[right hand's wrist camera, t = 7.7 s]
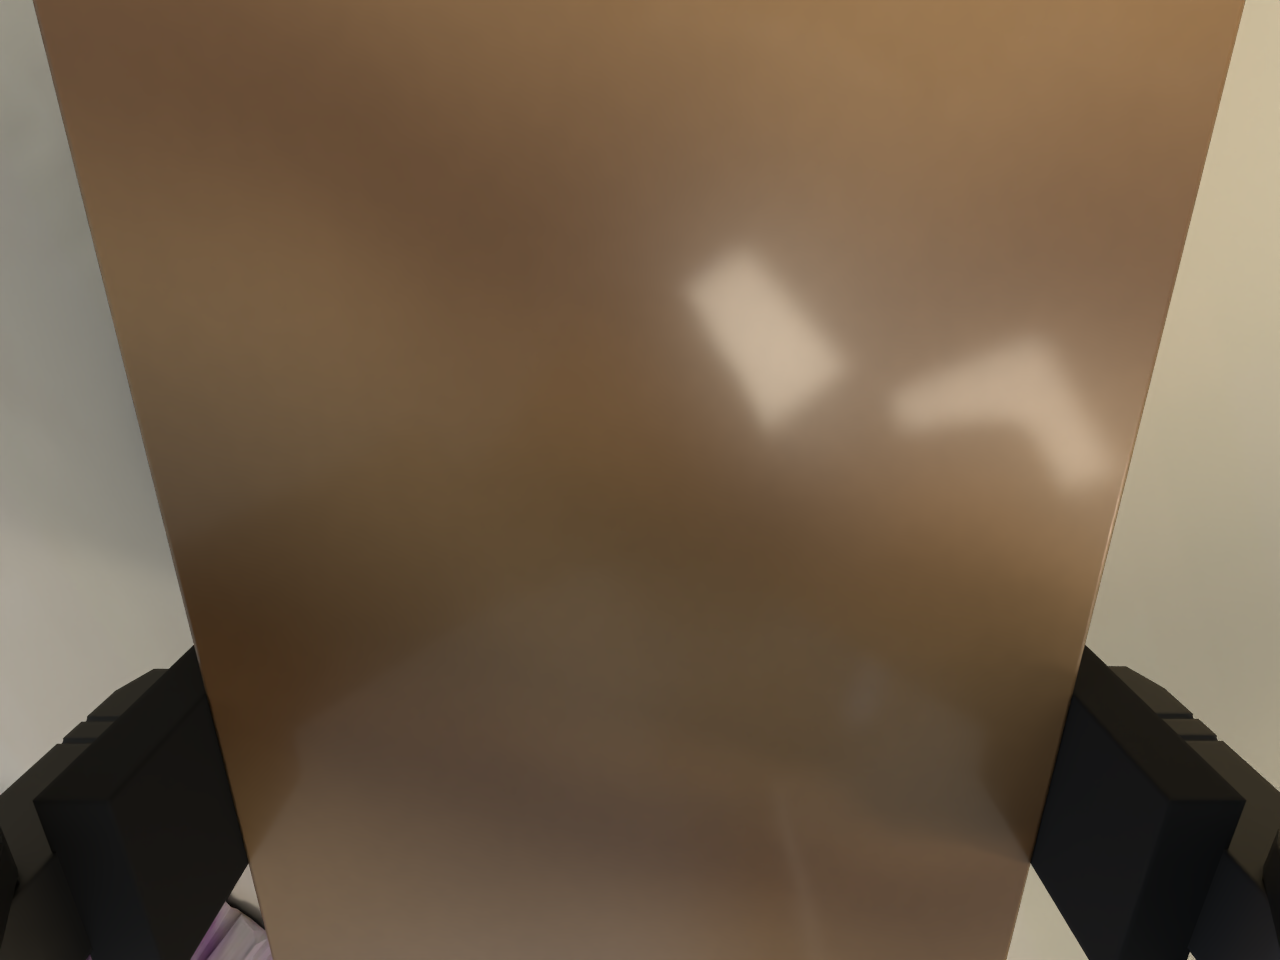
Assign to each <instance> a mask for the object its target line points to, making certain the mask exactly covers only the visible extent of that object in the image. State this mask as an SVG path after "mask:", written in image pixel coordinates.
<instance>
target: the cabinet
mask: <svg viewBox="0 0 1280 960" xmlns="http://www.w3.org/2000/svg"><path fill="white" fill-rule="evenodd" d="M33 3H34V7H35V11H36V15H37V19H38V23H39V27H40V31H41V35H42V39H43V43H44V47H45V51H46V55H47V59H48V63H49V67H50V71H51V75H52V79H53V83H54V87H55V91H56V95H57V99H58V103H59V107H60V111H61V115H62V119H63V123H64V127H65V131H66V135H67V139H68V143H69V147H70V151H71V155H72V159H73V163H74V167H75V171H76V175H77V179H78V183H79V187H80V191H81V195H82V199H83V203H84V207H85V211H86V215H87V219H88V223H89V227H90V231H91V235H92V239H93V243H94V247H95V251H96V255H97V259H98V263H99V267H100V271H101V275H102V279H103V283H104V287H105V291H106V295H107V299H108V303H109V307H110V311H111V315H112V319H113V323H114V327H115V331H116V335H117V339H118V343H119V347H120V351H121V355H122V359H123V363H124V367H125V371H126V375H127V379H128V383H129V387H130V391H131V395H132V399H133V403H134V407H135V411H136V415H137V419H138V423H139V427H140V431H141V435H142V439H143V443H144V447H145V451H146V455H147V459H148V463H149V467H150V471H151V475H152V479H153V483H154V487H155V491H156V495H157V499H158V503H159V507H160V511H161V515H162V519H163V523H164V527H165V531H166V535H167V539H168V543H169V547H170V551H171V555H172V559H173V563H174V567H175V571H176V575H177V579H178V583H179V587H180V591H181V595H182V599H183V603H184V607H185V611H186V615H187V619H188V623H189V627H190V631H191V635H192V639H193V643H194V647H195V651H196V655H197V659H198V663H199V667H200V671H201V675H202V679H203V683H204V687H205V691H206V695H207V699H208V703H209V707H210V711H211V715H212V719H213V723H214V727H215V731H216V735H217V739H218V743H219V747H220V751H221V755H222V759H223V763H224V767H225V771H226V775H227V779H228V783H229V787H230V791H231V795H232V799H233V803H234V807H235V811H236V814H237V818H238V822H239V826H240V830H241V834H242V838H243V842H244V846H245V850H246V854H247V858H248V862H249V866H250V870H251V874H252V878H253V882H254V886H255V890H256V894H257V898H258V902H259V906H260V910H261V914H262V918H263V922H264V926H265V930H266V934H267V938H268V942H269V946H270V950H271V954H272V958H273V960H1006V959H1007V955H1008V951H1009V947H1010V943H1011V939H1012V935H1013V931H1014V927H1015V923H1016V919H1017V915H1018V911H1019V907H1020V903H1021V899H1022V895H1023V891H1024V887H1025V883H1026V879H1027V875H1028V871H1029V867H1030V863H1031V859H1032V855H1033V851H1034V846H1035V842H1036V838H1037V834H1038V830H1039V826H1040V822H1041V818H1042V814H1043V810H1044V806H1045V802H1046V798H1047V794H1048V790H1049V786H1050V782H1051V778H1052V774H1053V770H1054V766H1055V762H1056V758H1057V754H1058V750H1059V746H1060V742H1061V738H1062V734H1063V730H1064V726H1065V722H1066V718H1067V714H1068V710H1069V706H1070V702H1071V698H1072V694H1073V690H1074V686H1075V682H1076V678H1077V674H1078V670H1079V666H1080V662H1081V658H1082V654H1083V650H1084V646H1085V642H1086V638H1087V634H1088V630H1089V626H1090V622H1091V618H1092V614H1093V610H1094V606H1095V602H1096V598H1097V594H1098V590H1099V586H1100V582H1101V578H1102V574H1103V570H1104V566H1105V562H1106V558H1107V554H1108V550H1109V546H1110V542H1111V538H1112V534H1113V530H1114V526H1115V522H1116V518H1117V513H1118V509H1119V505H1120V501H1121V497H1122V493H1123V489H1124V485H1125V481H1126V477H1127V473H1128V469H1129V465H1130V461H1131V457H1132V453H1133V449H1134V445H1135V441H1136V437H1137V433H1138V429H1139V425H1140V421H1141V417H1142V413H1143V409H1144V405H1145V401H1146V397H1147V393H1148V389H1149V385H1150V381H1151V377H1152V373H1153V369H1154V365H1155V361H1156V357H1157V353H1158V349H1159V345H1160V341H1161V337H1162V333H1163V329H1164V325H1165V321H1166V317H1167V313H1168V309H1169V305H1170V301H1171V297H1172V293H1173V289H1174V285H1175V281H1176V277H1177V273H1178V269H1179V265H1180V261H1181V257H1182V253H1183V249H1184V245H1185V241H1186V237H1187V233H1188V229H1189V225H1190V221H1191V217H1192V213H1193V209H1194V205H1195V201H1196V197H1197V193H1198V189H1199V184H1200V180H1201V176H1202V172H1203V168H1204V164H1205V160H1206V156H1207V152H1208V148H1209V144H1210V140H1211V136H1212V132H1213V128H1214V124H1215V120H1216V116H1217V112H1218V108H1219V104H1220V100H1221V96H1222V92H1223V88H1224V84H1225V80H1226V76H1227V72H1228V68H1229V64H1230V60H1231V56H1232V52H1233V48H1234V44H1235V40H1236V36H1237V32H1238V28H1239V24H1240V20H1241V16H1242V12H1243V8H1244V4H1245V0H33Z"/></svg>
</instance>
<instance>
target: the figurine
mask: <svg viewBox="0 0 1280 960" xmlns="http://www.w3.org/2000/svg"><path fill="white" fill-rule="evenodd" d="M86 960H92V958H91V955H89V956H88V958H87V959H86ZM190 960H273V958H272V954H271V950H270V946H269V942H268V938H267V934H266V931H265V930H264V929H263V928H261V927H260V926H259V925H258V924H257V923H255V922H254V921H253V920H252V919H251V918H249V917H248V916H246V915H245V914H243V913H242V912H240V911H239V910H238V909H235V908H231V907H230V906H229V905H228V903H226V902H225V903H224V905H223V906H222V908H221V910H220V911H219V913H218V915H217V916H216V918H215V920H214V921H213V923H212V925H211V926H210V928H209V930H208V931H207V933H206V935H205V936H204V938H203V940H202V941H201V943H200V944H199V946H198V948H197V949H196V951H195V953H194V954H193V956H192V958H191V959H190Z"/></svg>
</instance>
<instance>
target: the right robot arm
mask: <svg viewBox="0 0 1280 960" xmlns="http://www.w3.org/2000/svg"><path fill="white" fill-rule="evenodd" d="M1216 737H1217V735H1216V734H1214V733H1213V732H1212V731H1211V730H1210V729H1209V728H1208V727H1207V726H1206V725H1204V724H1203V723H1202V722H1201V721H1200V720H1199V719H1194V718H1193V714H1192V713H1191V712H1190V711H1189V710H1188V709H1187V708H1186V707H1185V706H1183V705H1182V704H1181V703H1180V702H1179V701H1178V700H1177V699H1176V698H1175V697H1173V696H1172V695H1171V694H1170V693H1169V692H1168V691H1167V690H1166V689H1165V688H1163V687H1161V686H1159V685H1158V684H1156V683H1154V682H1152V681H1151V680H1149V679H1147V678H1145V677H1144V676H1142V675H1140V674H1138V673H1137V672H1135V671H1133V670H1131V669H1130V668H1128V667H1126V666H1107V665H1106V664H1105V663H1104V662H1103V661H1101V660H1100V659H1099V658H1098V657H1097V656H1096V655H1095V654H1094V653H1093V652H1092V651H1091V650H1090V649H1089V648H1088V647H1087V646H1086V645H1085V646H1084V650H1083V654H1082V658H1081V662H1080V666H1079V670H1078V674H1077V678H1076V682H1075V686H1074V690H1073V694H1072V698H1071V702H1070V706H1069V710H1068V714H1067V718H1066V722H1065V726H1064V730H1063V734H1062V738H1061V742H1060V746H1059V750H1058V754H1057V758H1056V762H1055V766H1054V770H1053V774H1052V778H1051V782H1050V786H1049V790H1048V794H1047V798H1046V802H1045V806H1044V810H1043V814H1042V818H1041V822H1040V826H1039V830H1038V834H1037V838H1036V842H1035V846H1034V851H1033V855H1032V859H1031V865H1032V866H1033V868H1034V869H1035V871H1036V873H1037V874H1038V876H1039V878H1040V879H1041V881H1042V883H1043V884H1044V886H1045V888H1046V889H1047V891H1048V893H1049V894H1050V896H1051V898H1052V899H1053V901H1054V903H1055V904H1056V906H1057V908H1058V909H1059V911H1060V913H1061V914H1062V916H1063V918H1064V919H1065V921H1066V923H1067V924H1068V926H1069V928H1070V929H1071V931H1072V932H1073V934H1074V936H1075V937H1076V939H1077V941H1078V942H1079V944H1080V946H1081V947H1082V949H1083V951H1084V952H1085V954H1086V956H1087V957H1088V959H1089V960H1187V958H1188V955H1189V953H1190V952H1191V953H1192V955H1193V956H1194V957H1195V959H1196V960H1280V792H1279V791H1278V790H1277V789H1275V788H1274V787H1273V786H1272V785H1271V784H1270V783H1269V782H1268V781H1267V780H1266V779H1264V778H1263V777H1262V776H1261V775H1260V774H1259V773H1258V772H1257V771H1256V770H1254V769H1253V768H1252V767H1251V766H1250V765H1249V764H1248V763H1247V762H1246V761H1244V760H1243V759H1242V758H1241V757H1240V756H1239V755H1238V754H1237V753H1236V752H1234V751H1233V750H1232V749H1231V748H1230V747H1229V746H1228V745H1227V744H1226V743H1224V742H1223V741H1218V740H1217V738H1216ZM248 863H249V862H248V858H247V854H246V850H245V846H244V842H243V838H242V834H241V830H240V826H239V822H238V818H237V814H236V811H235V807H234V803H233V799H232V795H231V791H230V787H229V783H228V779H227V775H226V771H225V767H224V763H223V759H222V755H221V751H220V747H219V743H218V739H217V735H216V731H215V727H214V723H213V719H212V715H211V711H210V707H209V703H208V699H207V695H206V691H205V687H204V683H203V679H202V675H201V671H200V667H199V663H198V659H197V655H196V651H195V647H194V645H193V646H192V647H191V648H190V649H189V650H188V651H187V652H186V653H185V654H184V655H183V656H182V657H181V658H180V659H179V660H178V661H177V662H176V663H175V664H174V665H172V666H171V667H170V668H169V669H153V670H151V671H149V672H148V673H146V674H144V675H142V676H141V677H139V678H137V679H135V680H134V681H132V682H130V683H128V684H127V685H125V686H123V687H121V688H120V689H118V690H116V691H115V692H114V693H113V694H112V695H110V696H109V697H108V698H107V699H106V700H105V701H104V702H103V703H102V704H101V705H99V706H98V707H97V708H96V709H95V710H94V711H93V712H92V713H91V714H89V715H88V716H87V721H86V722H81V723H80V724H78V725H77V726H76V727H75V728H74V729H73V730H72V731H71V732H70V733H69V734H67V735H66V736H65V737H64V738H63V743H62V744H56V745H55V746H54V747H53V748H52V749H51V750H50V751H49V752H48V753H46V754H45V755H44V756H43V757H42V758H41V759H40V760H39V761H38V762H37V763H35V764H34V765H33V766H32V767H31V768H30V769H29V770H28V771H27V772H26V773H24V774H23V775H22V776H21V777H20V778H19V779H18V780H17V781H16V782H15V783H13V784H12V785H11V786H10V787H9V788H8V789H7V790H6V791H5V792H3V793H2V794H1V795H0V960H86V959H87V958H88V956H89V955H91V958H92V960H190V959H191V958H192V956H193V954H194V953H195V951H196V949H197V948H198V946H199V944H200V943H201V941H202V940H203V938H204V936H205V935H206V933H207V931H208V930H209V928H210V926H211V925H212V923H213V921H214V920H215V918H216V916H217V915H218V913H219V911H220V910H221V908H222V906H223V905H224V903H225V901H226V900H227V898H228V896H229V895H230V893H231V891H232V890H233V888H234V886H235V885H236V883H237V881H238V880H239V878H240V877H241V875H242V873H243V872H244V870H245V868H246V867H247V865H248Z"/></svg>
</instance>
